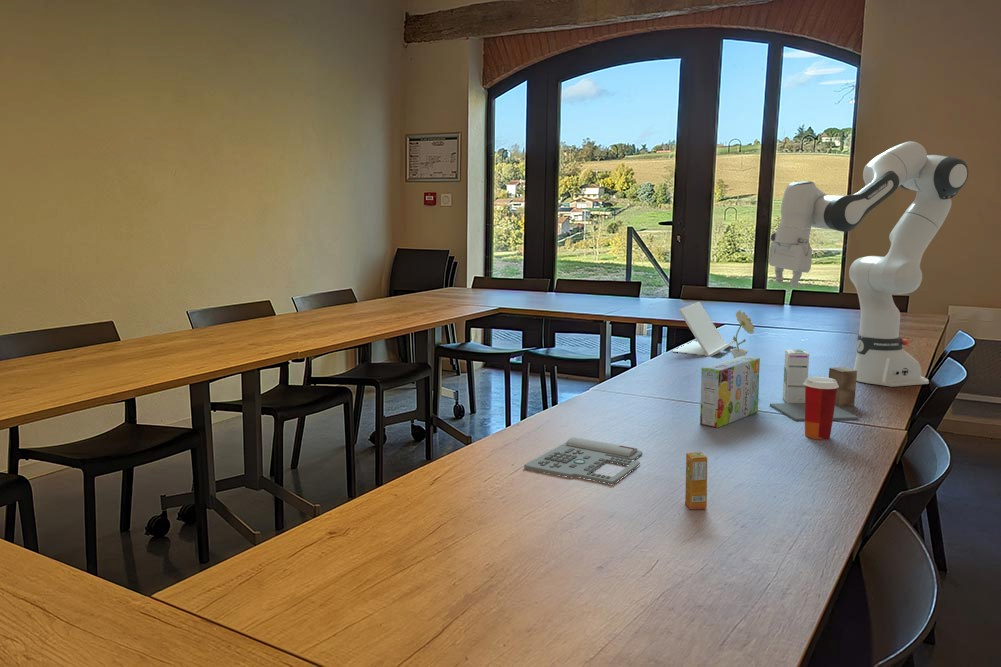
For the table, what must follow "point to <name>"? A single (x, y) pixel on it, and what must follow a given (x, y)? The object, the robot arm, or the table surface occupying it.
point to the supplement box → (696, 480)
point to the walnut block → (844, 385)
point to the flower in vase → (748, 327)
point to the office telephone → (585, 459)
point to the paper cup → (819, 406)
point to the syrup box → (795, 375)
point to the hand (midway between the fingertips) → (786, 284)
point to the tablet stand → (701, 332)
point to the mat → (798, 411)
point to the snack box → (729, 390)
